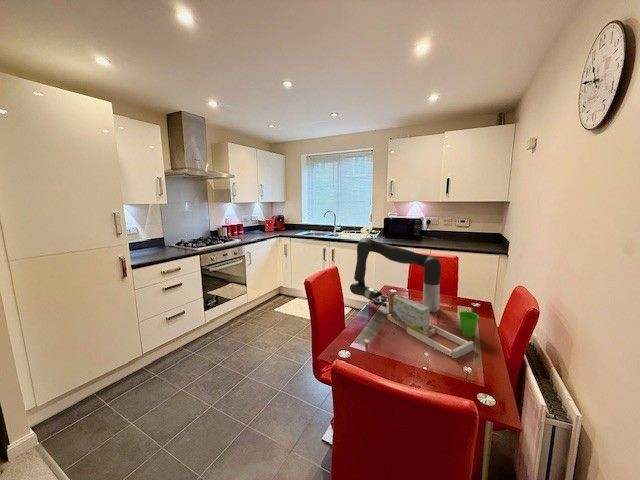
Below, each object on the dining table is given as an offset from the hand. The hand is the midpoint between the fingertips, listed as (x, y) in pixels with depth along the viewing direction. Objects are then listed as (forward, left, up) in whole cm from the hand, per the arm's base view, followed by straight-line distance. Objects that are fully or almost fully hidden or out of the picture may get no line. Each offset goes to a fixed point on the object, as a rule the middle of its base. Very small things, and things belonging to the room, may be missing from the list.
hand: (391, 303), depth 156 cm
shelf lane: (0, +31, -8) cm, 32 cm away
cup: (-17, +36, -8) cm, 40 cm away
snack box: (+1, +15, -8) cm, 17 cm away
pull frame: (0, +13, -8) cm, 15 cm away
